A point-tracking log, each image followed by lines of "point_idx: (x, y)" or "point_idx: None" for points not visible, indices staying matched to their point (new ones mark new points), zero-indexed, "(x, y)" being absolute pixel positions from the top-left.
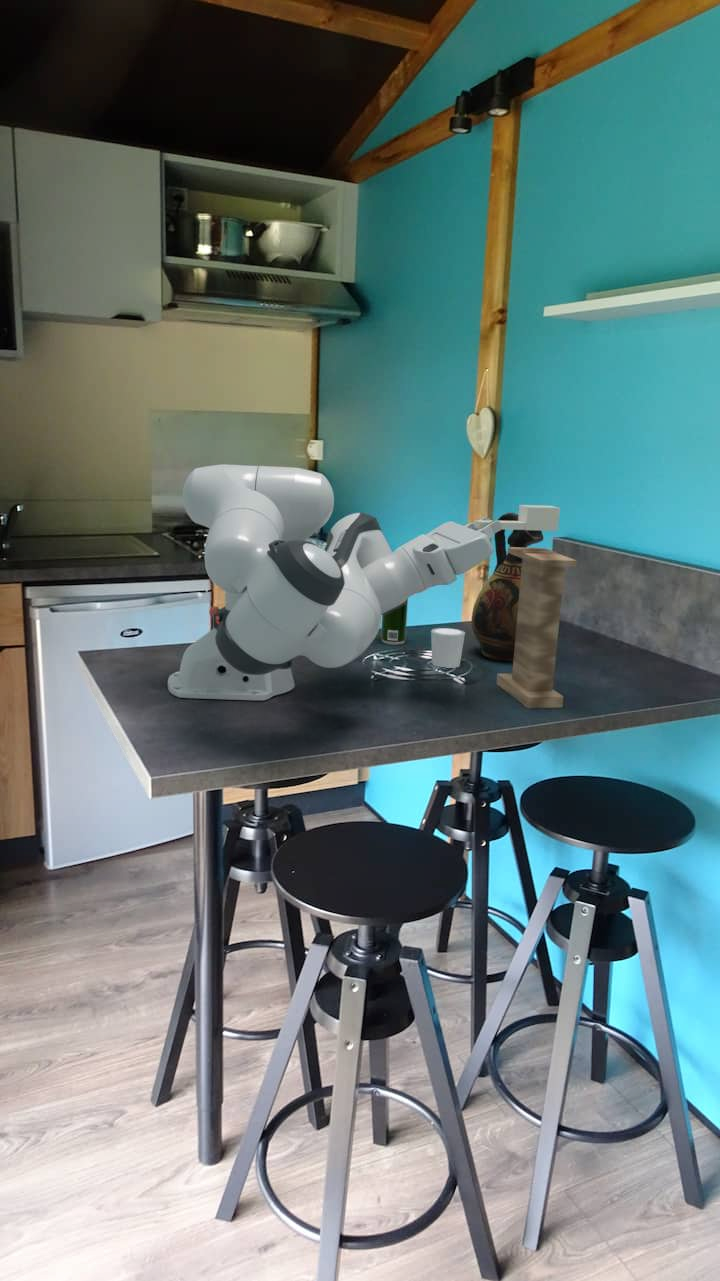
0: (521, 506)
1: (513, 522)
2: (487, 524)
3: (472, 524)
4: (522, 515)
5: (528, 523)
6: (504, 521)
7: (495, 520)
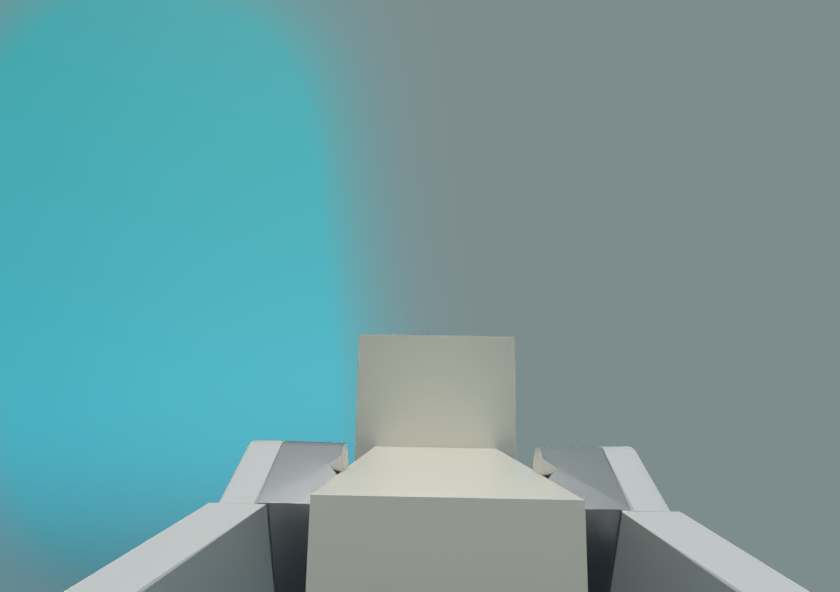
0: (398, 341)
1: (487, 454)
2: None
3: (178, 577)
4: (428, 401)
5: (513, 448)
6: (429, 457)
7: (591, 447)
